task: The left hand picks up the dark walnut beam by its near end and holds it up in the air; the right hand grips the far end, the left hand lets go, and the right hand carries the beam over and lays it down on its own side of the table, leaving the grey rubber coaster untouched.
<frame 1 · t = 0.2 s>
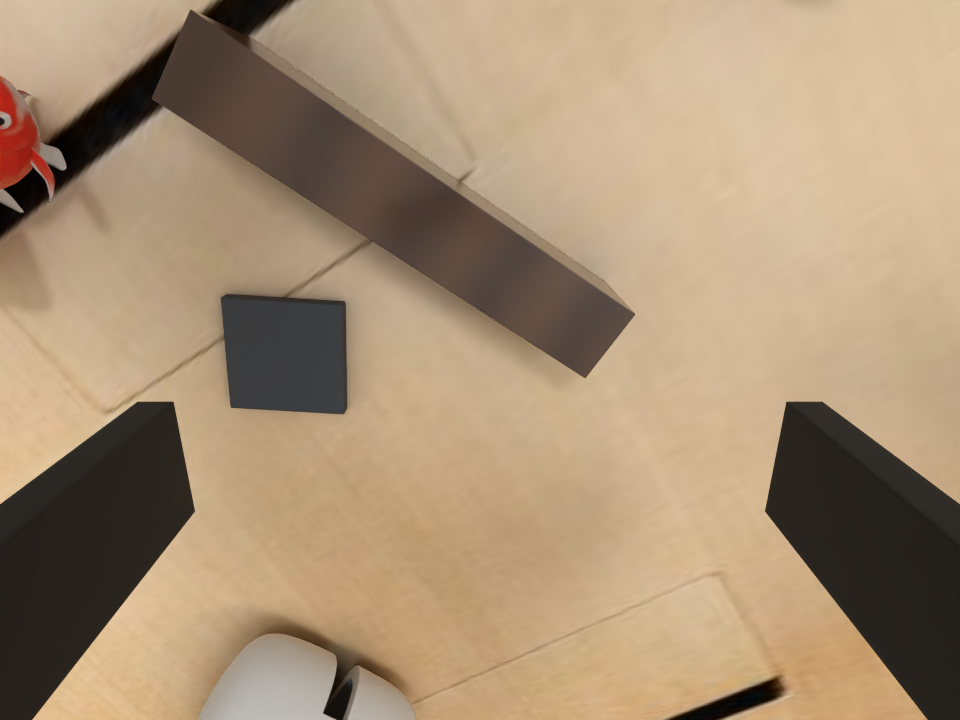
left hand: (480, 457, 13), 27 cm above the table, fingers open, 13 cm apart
fish: (11, 188, 37), on the table
beam: (422, 199, 37), on the table
projector: (296, 717, 53), on the table
coaster: (289, 353, 41), on the table
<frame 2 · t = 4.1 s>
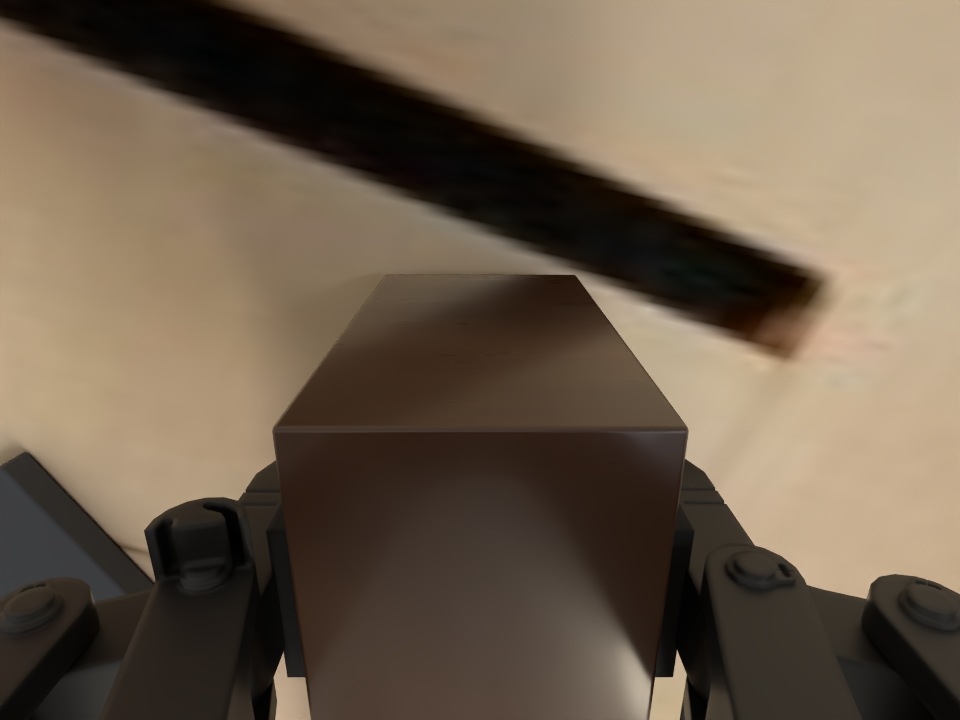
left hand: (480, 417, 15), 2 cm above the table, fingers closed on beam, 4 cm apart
beam: (479, 687, 18), point 2 cm above the table, touching left hand
coaster: (25, 602, 19), on the table
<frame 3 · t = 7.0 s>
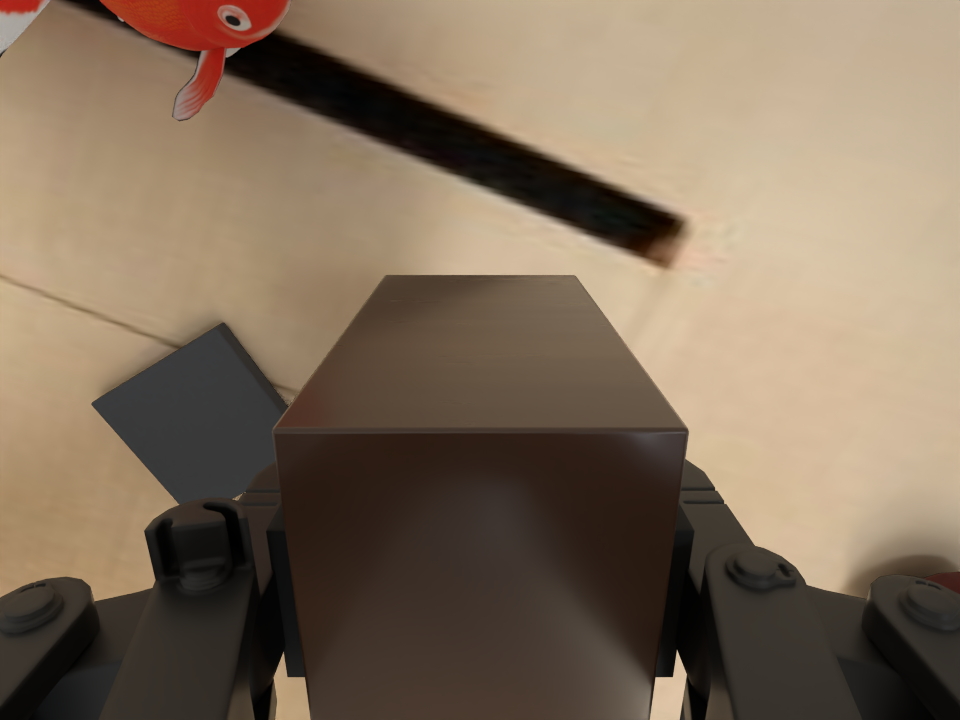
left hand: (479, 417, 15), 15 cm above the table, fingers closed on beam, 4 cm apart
beam: (480, 688, 18), point 14 cm above the table, touching left hand
dark red ball: (917, 595, 35), on the table
coaster: (211, 421, 31), on the table
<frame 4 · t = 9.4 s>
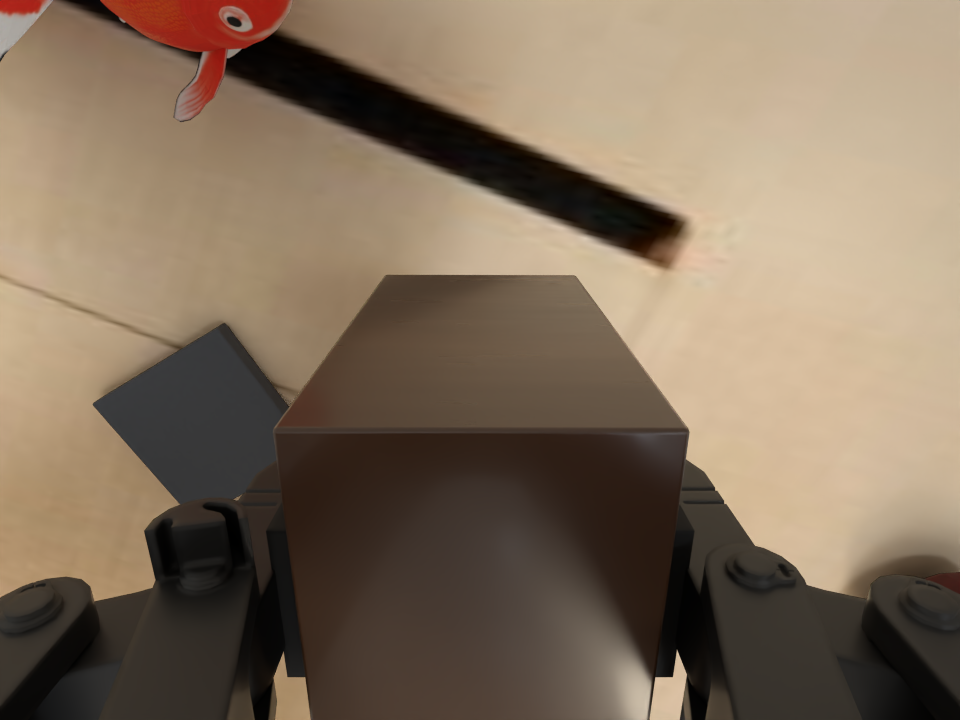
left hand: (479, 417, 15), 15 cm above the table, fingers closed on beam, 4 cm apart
beam: (479, 688, 18), point 14 cm above the table, touching left hand, right hand
dark red ball: (918, 595, 35), on the table
coaster: (212, 421, 31), on the table
when the left hand's fingers open (15 cm above the table, at t = 10.2 s): beam stays where it is, held by the right hand.
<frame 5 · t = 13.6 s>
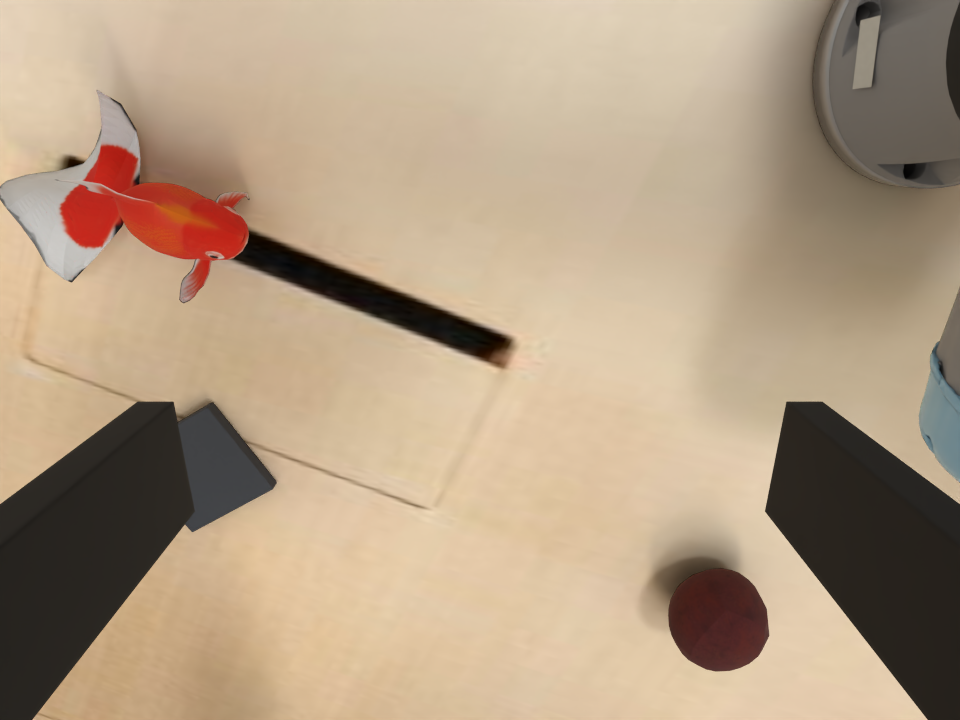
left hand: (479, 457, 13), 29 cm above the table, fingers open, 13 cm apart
fish: (159, 204, 39), on the table
dark red ball: (701, 585, 50), on the table
coaster: (205, 465, 46), on the table
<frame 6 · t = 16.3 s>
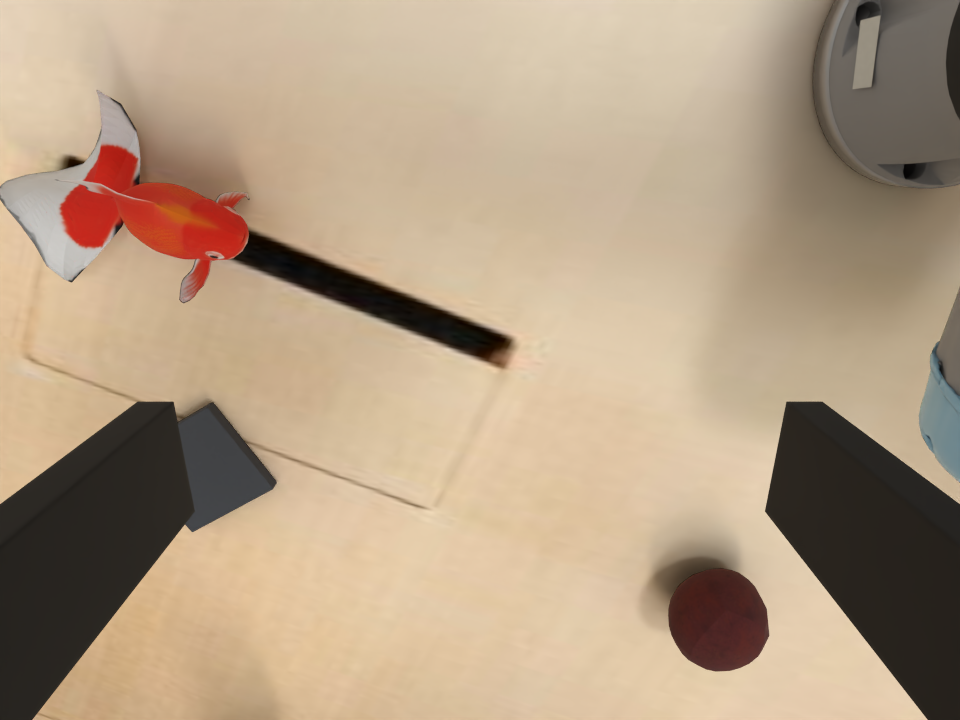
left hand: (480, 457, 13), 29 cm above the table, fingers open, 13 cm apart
fish: (159, 204, 39), on the table
dark red ball: (701, 585, 50), on the table
coaster: (205, 465, 46), on the table
when the right hand's fingers open (6 cm above the table, at t = 18.3 s): beam stays where it is, on the table.
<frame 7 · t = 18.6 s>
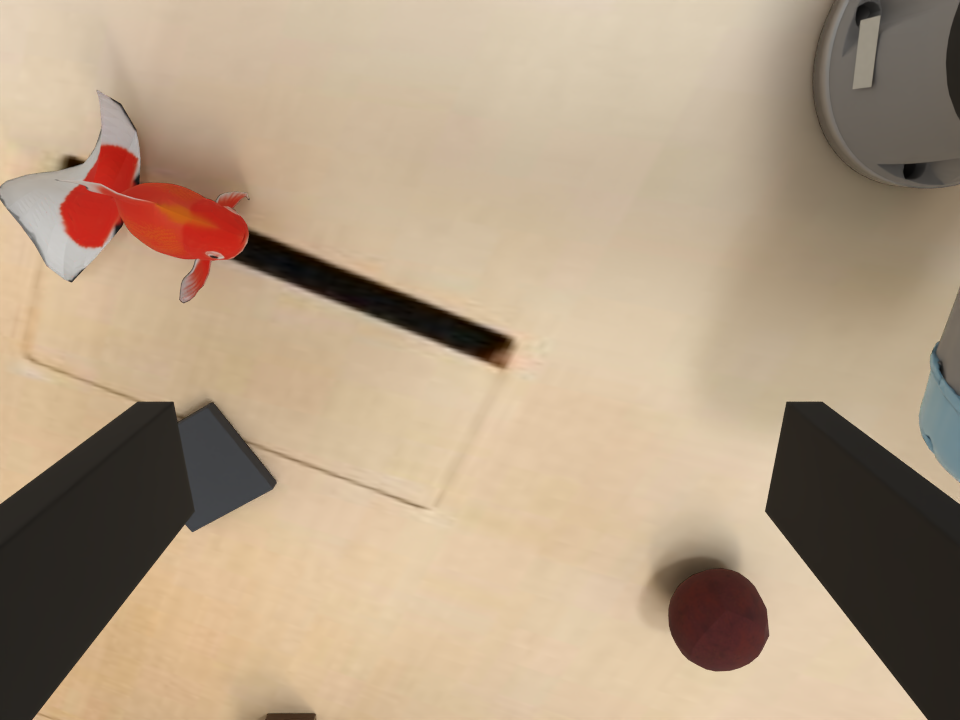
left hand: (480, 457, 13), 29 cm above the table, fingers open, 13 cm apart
fish: (159, 204, 39), on the table
dark red ball: (701, 585, 50), on the table
coaster: (205, 465, 46), on the table
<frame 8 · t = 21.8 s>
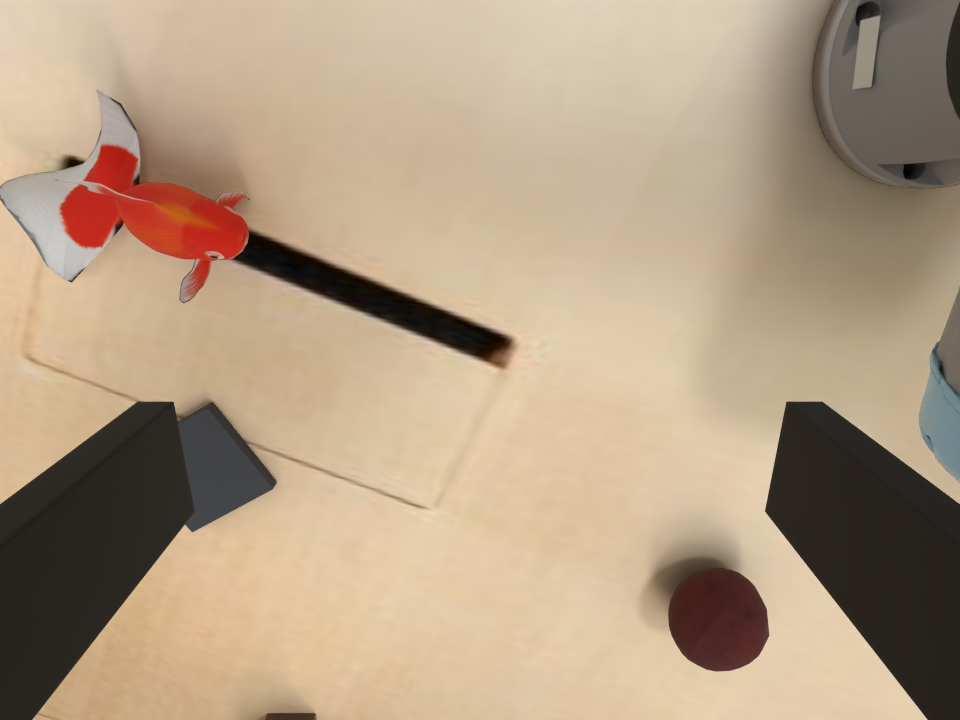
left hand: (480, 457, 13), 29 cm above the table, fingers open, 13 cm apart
fish: (159, 204, 39), on the table
dark red ball: (701, 585, 50), on the table
coaster: (205, 465, 46), on the table
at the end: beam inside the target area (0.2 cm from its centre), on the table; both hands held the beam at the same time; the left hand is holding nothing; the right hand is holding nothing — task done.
